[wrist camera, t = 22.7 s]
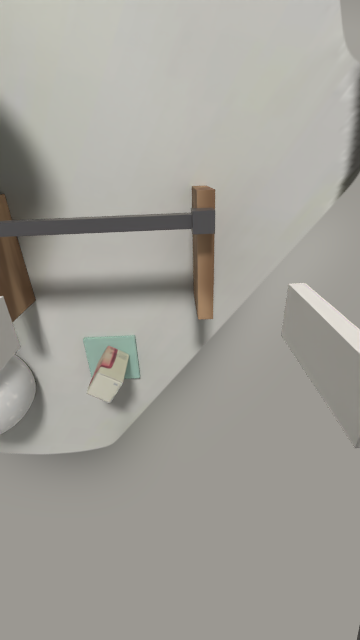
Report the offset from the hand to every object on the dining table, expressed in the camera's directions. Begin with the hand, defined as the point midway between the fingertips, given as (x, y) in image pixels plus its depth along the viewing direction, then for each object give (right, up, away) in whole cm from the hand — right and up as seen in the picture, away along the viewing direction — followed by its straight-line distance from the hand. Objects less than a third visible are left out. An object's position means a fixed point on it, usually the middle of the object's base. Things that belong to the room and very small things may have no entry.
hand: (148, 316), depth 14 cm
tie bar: (-9, +11, +19) cm, 24 cm away
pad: (-11, -7, +39) cm, 41 cm away
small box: (-11, -7, +39) cm, 41 cm away
